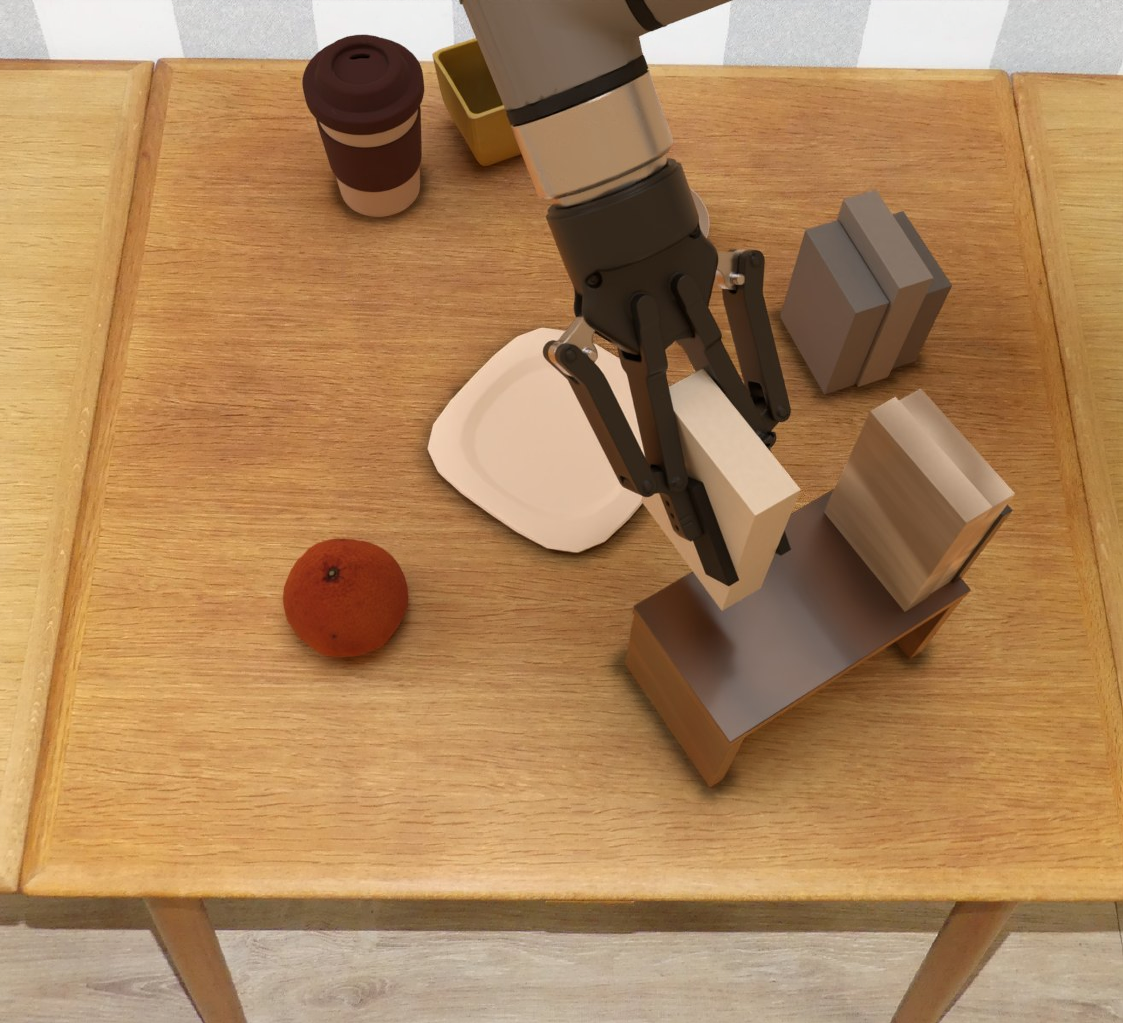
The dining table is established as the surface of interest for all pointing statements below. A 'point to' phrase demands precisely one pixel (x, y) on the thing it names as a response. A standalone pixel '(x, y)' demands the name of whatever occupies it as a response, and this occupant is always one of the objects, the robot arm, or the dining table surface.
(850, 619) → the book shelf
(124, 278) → the dining table surface
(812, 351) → the grey books
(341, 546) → the fruit
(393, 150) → the coffee cup
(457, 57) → the flower pot
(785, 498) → the white book
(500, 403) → the plate
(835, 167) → the dining table surface
